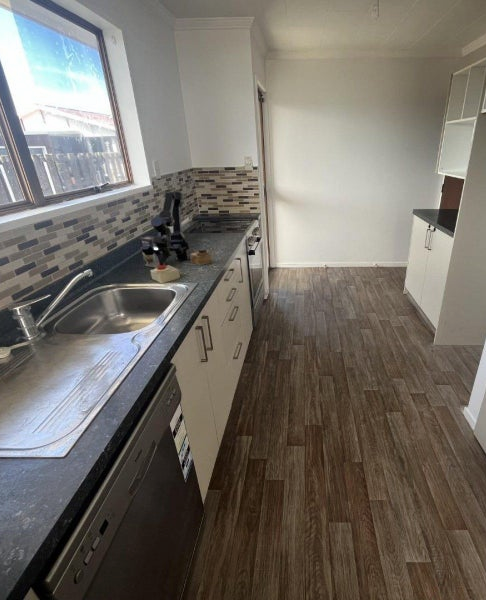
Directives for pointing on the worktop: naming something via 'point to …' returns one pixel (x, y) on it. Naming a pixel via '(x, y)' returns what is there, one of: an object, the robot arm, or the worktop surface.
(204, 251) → the knob
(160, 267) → the knob
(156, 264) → the coffee box
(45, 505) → the worktop surface
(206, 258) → the oak block
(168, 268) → the cream block
